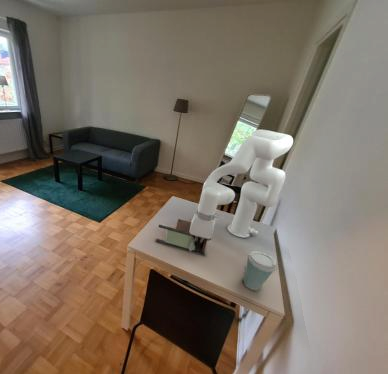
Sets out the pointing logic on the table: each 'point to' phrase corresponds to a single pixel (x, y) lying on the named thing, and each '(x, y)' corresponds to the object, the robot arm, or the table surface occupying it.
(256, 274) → the disposable coffee cup
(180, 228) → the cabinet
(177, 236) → the pale green block
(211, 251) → the table surface
